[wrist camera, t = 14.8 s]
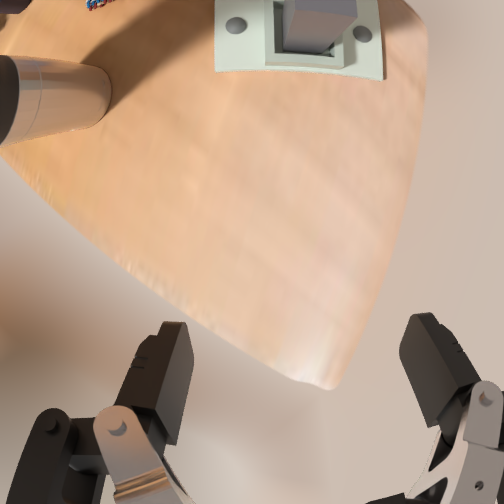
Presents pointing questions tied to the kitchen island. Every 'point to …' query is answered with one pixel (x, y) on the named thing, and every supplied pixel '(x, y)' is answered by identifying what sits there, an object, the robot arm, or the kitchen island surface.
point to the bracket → (274, 59)
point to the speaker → (13, 6)
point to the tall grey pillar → (315, 23)
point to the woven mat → (96, 3)
